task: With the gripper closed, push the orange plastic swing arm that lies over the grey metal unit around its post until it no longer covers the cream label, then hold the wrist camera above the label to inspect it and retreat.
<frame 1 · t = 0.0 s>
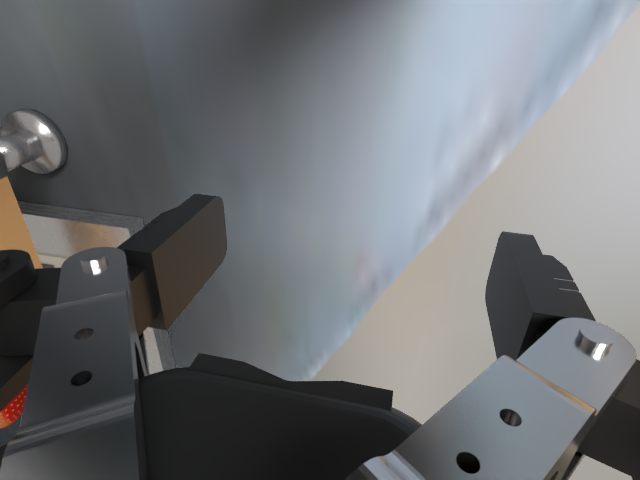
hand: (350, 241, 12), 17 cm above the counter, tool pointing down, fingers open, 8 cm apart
fruit: (28, 376, 53), on the counter
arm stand: (39, 140, 34), on the counter
swing arm: (25, 306, 35), point 6 cm above the counter, hinge at 0.0°
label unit: (88, 287, 42), on the counter
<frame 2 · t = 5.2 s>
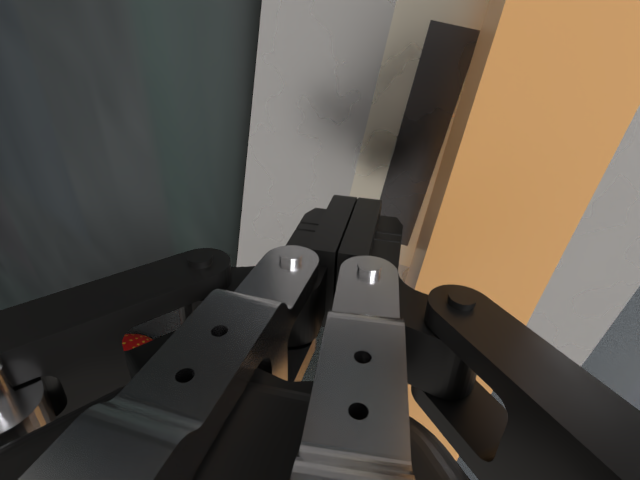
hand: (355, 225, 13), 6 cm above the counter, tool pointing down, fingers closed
fruit: (153, 337, 27), on the counter
swing arm: (534, 100, 10), point 7 cm above the counter, hinge at 2.6°, touching gripper
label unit: (456, 140, 17), on the counter
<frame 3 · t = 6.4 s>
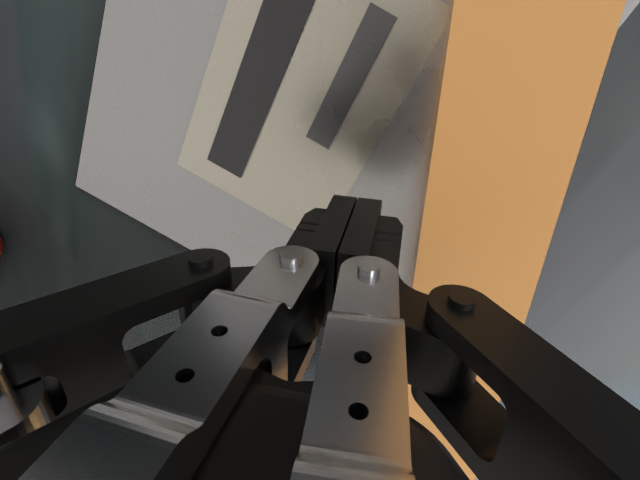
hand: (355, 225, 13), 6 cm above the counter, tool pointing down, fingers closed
swing arm: (505, 83, 10), point 6 cm above the counter, hinge at 25.7°, touching gripper
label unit: (309, 90, 17), on the counter
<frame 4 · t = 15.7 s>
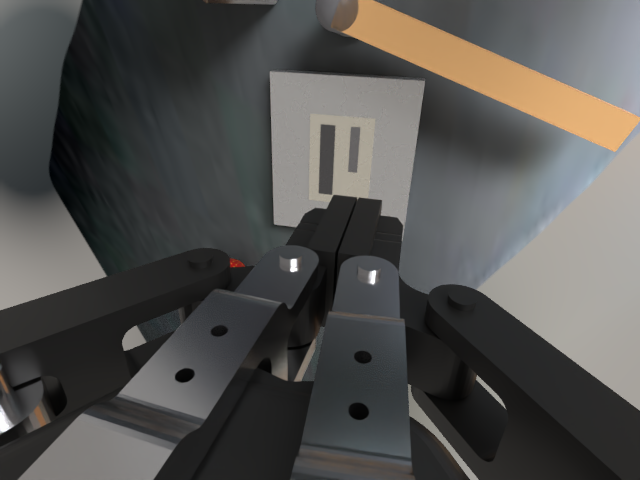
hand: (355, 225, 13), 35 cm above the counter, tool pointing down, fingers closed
swing arm: (470, 65, 36), point 6 cm above the counter, hinge at 71.1°
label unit: (343, 156, 49), on the counter
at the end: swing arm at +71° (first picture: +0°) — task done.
